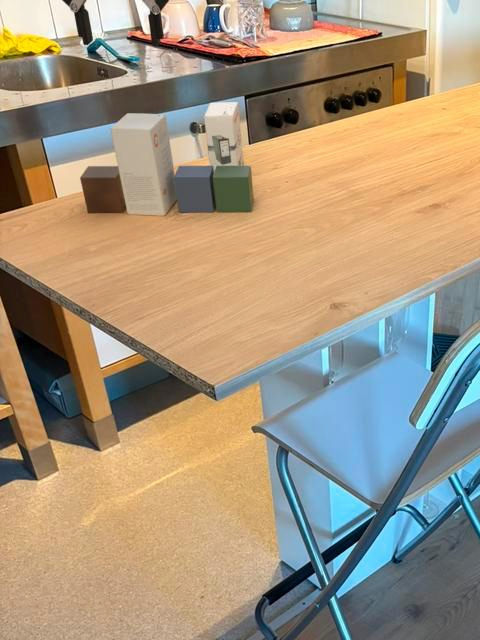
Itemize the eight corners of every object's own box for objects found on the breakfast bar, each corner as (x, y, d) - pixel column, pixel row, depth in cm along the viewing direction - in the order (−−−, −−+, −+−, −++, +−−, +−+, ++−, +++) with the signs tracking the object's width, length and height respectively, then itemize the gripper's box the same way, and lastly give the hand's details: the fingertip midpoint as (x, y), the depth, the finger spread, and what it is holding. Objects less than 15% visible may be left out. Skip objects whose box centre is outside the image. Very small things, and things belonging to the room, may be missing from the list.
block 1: (87, 213, 129) (79, 177, 125) (95, 200, 133) (87, 166, 130) (122, 212, 129) (115, 177, 126) (129, 200, 133) (122, 165, 130)
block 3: (216, 212, 130) (212, 177, 126) (220, 200, 134) (216, 165, 131) (251, 212, 130) (248, 176, 127) (253, 199, 134) (250, 165, 131)
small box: (142, 196, 135) (126, 112, 126) (179, 198, 134) (166, 113, 126) (126, 214, 129) (108, 127, 120) (165, 216, 128) (150, 128, 120)
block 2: (179, 212, 130) (173, 177, 126) (183, 200, 134) (178, 165, 130) (213, 212, 130) (209, 177, 126) (217, 200, 134) (213, 165, 131)
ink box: (217, 172, 144) (209, 100, 137) (245, 172, 145) (238, 100, 137) (212, 189, 138) (202, 114, 130) (241, 189, 138) (233, 115, 130)
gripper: (22, -106, 102) (54, 48, 113) (162, -102, 103) (179, 51, 114) (39, -110, 108) (67, 37, 119) (171, -105, 109) (187, 40, 120)
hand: (122, 44), depth 116 cm, fingers open, 9 cm apart
